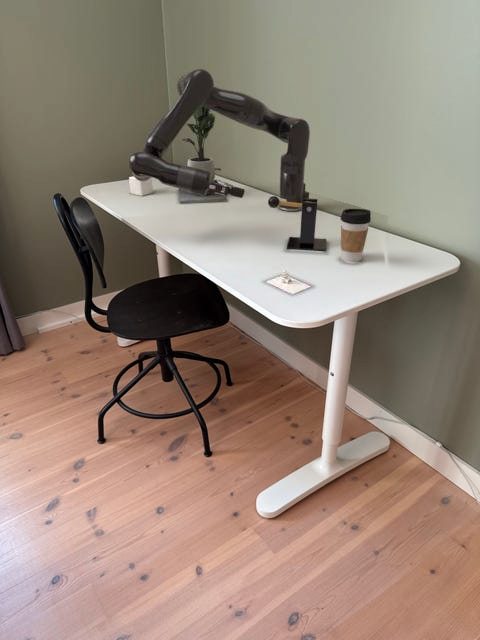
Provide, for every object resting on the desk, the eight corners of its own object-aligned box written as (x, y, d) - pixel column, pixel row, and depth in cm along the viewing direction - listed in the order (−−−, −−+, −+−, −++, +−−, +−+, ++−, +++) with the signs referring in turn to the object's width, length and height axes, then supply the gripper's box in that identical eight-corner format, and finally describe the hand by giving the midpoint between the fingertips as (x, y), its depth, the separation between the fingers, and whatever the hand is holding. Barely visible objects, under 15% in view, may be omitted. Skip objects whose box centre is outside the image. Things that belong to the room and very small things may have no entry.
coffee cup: (359, 267, 136) (366, 216, 129) (331, 262, 140) (336, 212, 133) (369, 258, 143) (376, 209, 135) (342, 253, 147) (347, 204, 139)
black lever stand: (286, 251, 148) (288, 204, 141) (289, 240, 157) (291, 195, 149) (325, 253, 146) (329, 206, 139) (326, 242, 155) (330, 197, 148)
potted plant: (178, 190, 214) (171, 78, 192) (220, 188, 217) (217, 78, 194) (180, 203, 195) (172, 81, 173) (225, 201, 198) (223, 80, 176)
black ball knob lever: (266, 208, 146) (268, 197, 144) (268, 205, 149) (269, 194, 147) (313, 214, 144) (314, 202, 142) (313, 211, 147) (315, 199, 146)
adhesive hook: (286, 279, 130) (286, 268, 128) (293, 282, 128) (293, 271, 126) (278, 282, 128) (278, 271, 126) (285, 285, 126) (285, 274, 125)
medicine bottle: (142, 190, 214) (139, 162, 208) (153, 192, 211) (151, 164, 205) (130, 193, 209) (127, 165, 203) (141, 196, 206) (138, 167, 200)
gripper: (192, 168, 140) (246, 182, 140) (198, 167, 153) (247, 180, 154) (187, 193, 142) (239, 207, 143) (193, 191, 156) (241, 203, 156)
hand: (243, 193), depth 148 cm, fingers open, 8 cm apart
